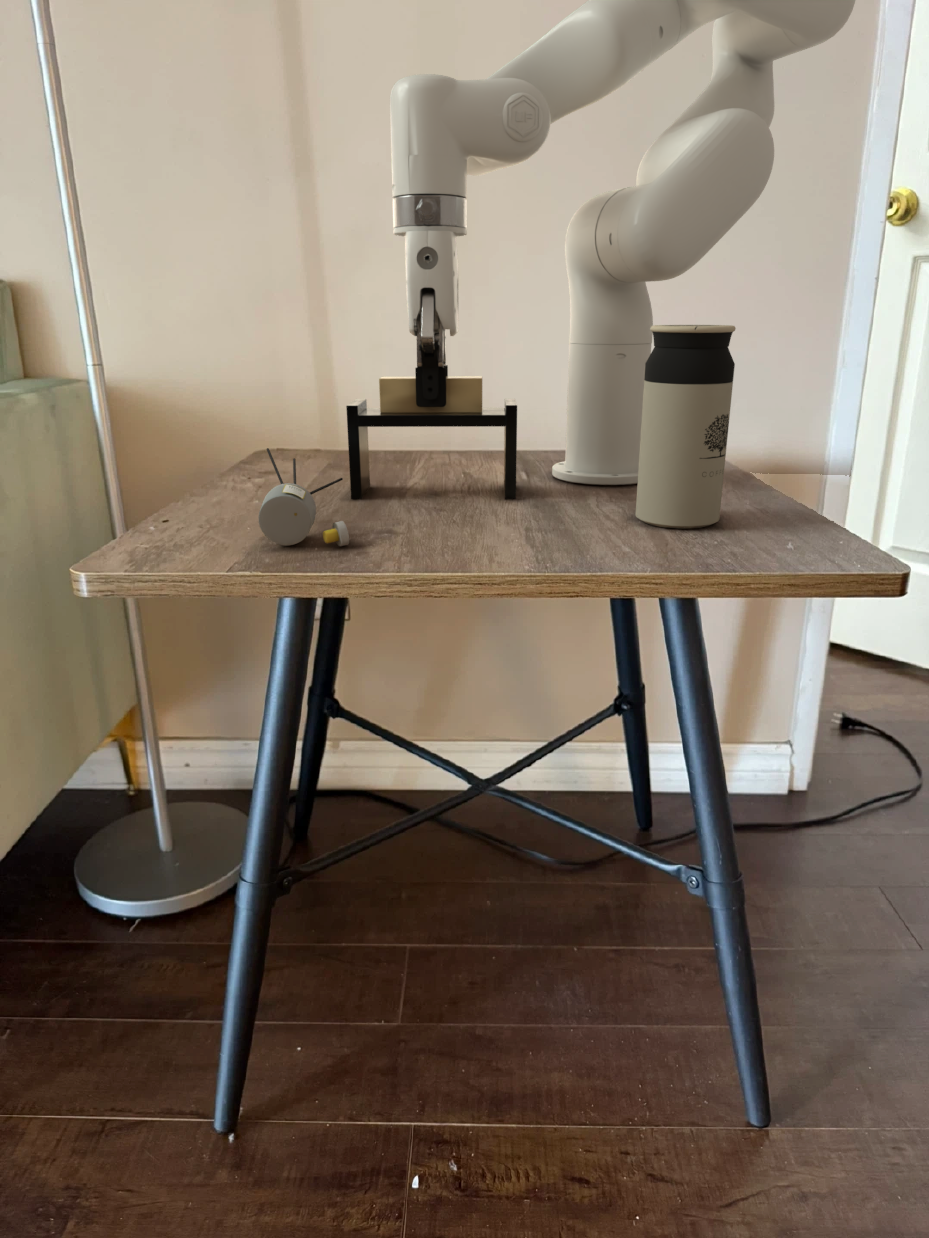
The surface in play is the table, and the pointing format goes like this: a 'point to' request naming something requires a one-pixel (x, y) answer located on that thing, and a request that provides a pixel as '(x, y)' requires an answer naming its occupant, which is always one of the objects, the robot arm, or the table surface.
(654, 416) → the travel mug
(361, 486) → the shelf
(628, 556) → the table surface
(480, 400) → the block
